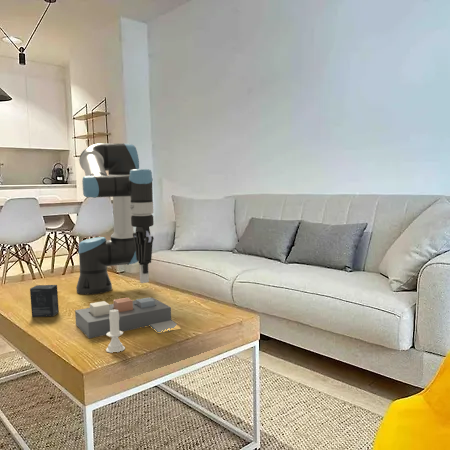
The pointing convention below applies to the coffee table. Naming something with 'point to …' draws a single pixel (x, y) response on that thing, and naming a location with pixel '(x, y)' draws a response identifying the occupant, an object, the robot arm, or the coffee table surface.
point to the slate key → (145, 302)
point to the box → (44, 300)
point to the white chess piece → (114, 332)
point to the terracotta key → (123, 304)
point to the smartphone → (163, 325)
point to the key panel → (122, 319)
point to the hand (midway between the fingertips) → (144, 282)
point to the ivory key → (99, 308)
